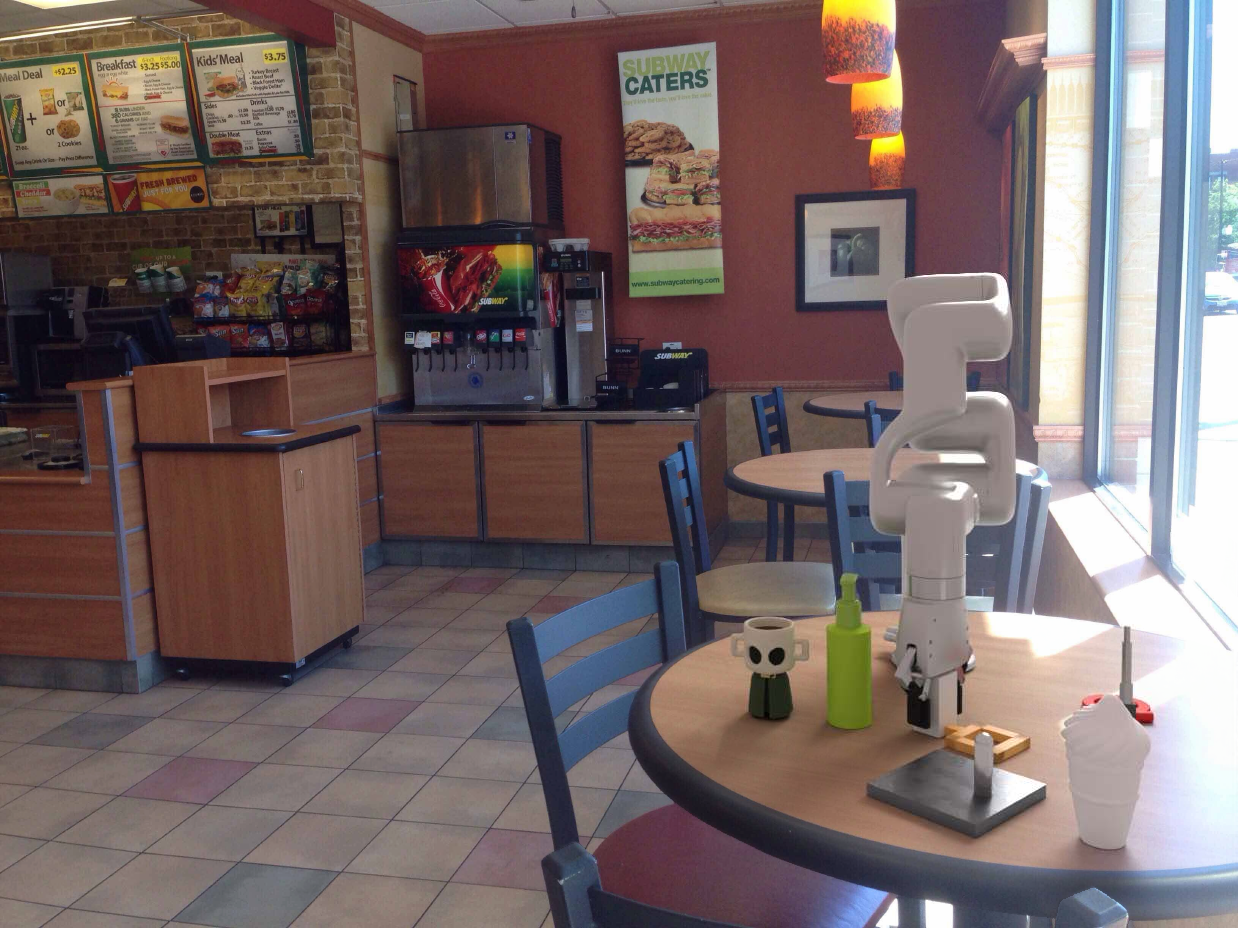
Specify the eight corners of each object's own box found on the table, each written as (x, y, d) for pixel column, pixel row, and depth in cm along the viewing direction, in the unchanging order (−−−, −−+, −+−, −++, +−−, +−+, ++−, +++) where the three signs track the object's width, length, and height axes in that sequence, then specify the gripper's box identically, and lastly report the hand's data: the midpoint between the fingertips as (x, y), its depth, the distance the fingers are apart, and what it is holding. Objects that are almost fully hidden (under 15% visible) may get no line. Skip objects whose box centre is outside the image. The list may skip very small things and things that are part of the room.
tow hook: (1074, 701, 149) (1093, 722, 140) (1076, 611, 148) (1095, 626, 139) (1138, 702, 148) (1161, 724, 139) (1140, 611, 147) (1163, 627, 138)
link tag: (905, 732, 139) (904, 674, 138) (938, 718, 144) (938, 661, 143) (997, 763, 129) (998, 699, 128) (1030, 746, 133) (1031, 685, 132)
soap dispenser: (874, 712, 147) (873, 571, 144) (869, 730, 140) (868, 583, 138) (831, 708, 149) (830, 569, 146) (824, 726, 142) (822, 581, 139)
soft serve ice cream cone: (1044, 823, 113) (1046, 679, 111) (1119, 818, 114) (1122, 674, 112) (1085, 863, 105) (1088, 707, 103) (1165, 856, 105) (1170, 702, 103)
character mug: (726, 719, 146) (724, 628, 144) (737, 701, 153) (735, 614, 151) (806, 726, 142) (804, 632, 141) (813, 707, 149) (812, 618, 147)
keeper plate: (866, 795, 121) (866, 724, 120) (938, 760, 130) (938, 693, 129) (975, 837, 111) (976, 760, 109) (1045, 796, 119) (1047, 724, 118)
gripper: (948, 569, 145) (948, 695, 148) (869, 593, 135) (870, 728, 137) (998, 578, 140) (996, 709, 142) (919, 604, 129) (919, 745, 131)
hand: (934, 717), depth 139 cm, fingers open, 6 cm apart
